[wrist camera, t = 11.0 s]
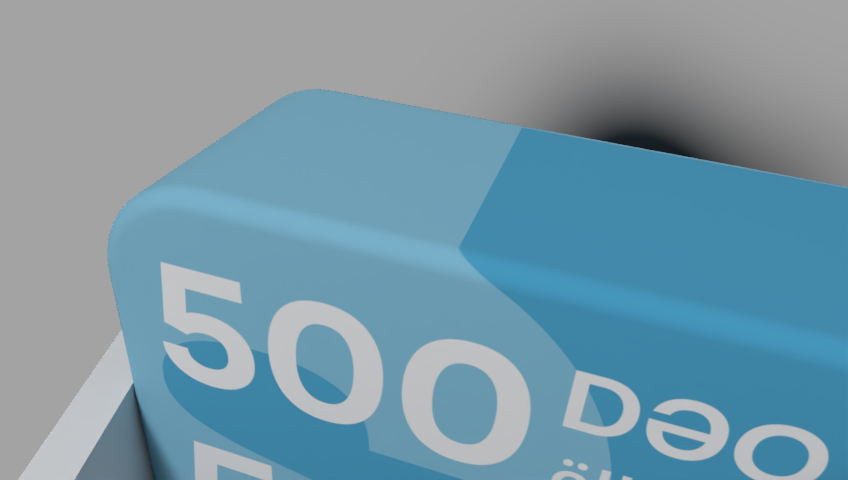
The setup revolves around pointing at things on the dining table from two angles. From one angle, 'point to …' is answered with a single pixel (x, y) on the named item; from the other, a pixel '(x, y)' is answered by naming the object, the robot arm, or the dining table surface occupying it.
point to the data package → (479, 306)
